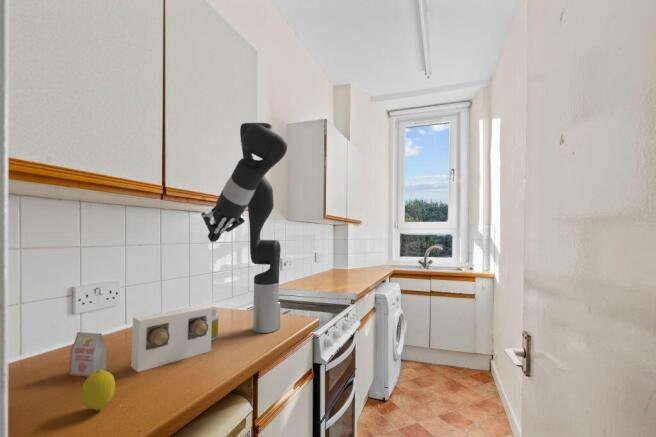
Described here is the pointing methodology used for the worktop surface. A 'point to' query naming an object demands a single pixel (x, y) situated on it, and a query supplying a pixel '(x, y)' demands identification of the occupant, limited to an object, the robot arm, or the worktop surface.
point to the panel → (179, 340)
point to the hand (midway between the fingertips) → (211, 239)
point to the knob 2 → (198, 327)
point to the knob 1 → (158, 336)
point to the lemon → (98, 389)
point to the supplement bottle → (214, 325)
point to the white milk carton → (87, 354)
